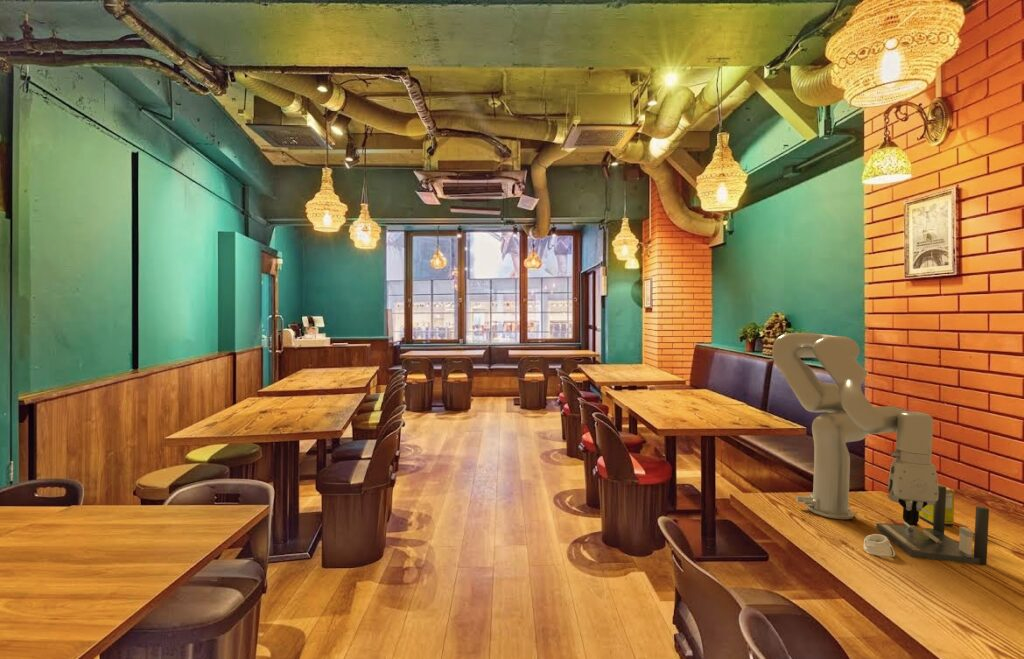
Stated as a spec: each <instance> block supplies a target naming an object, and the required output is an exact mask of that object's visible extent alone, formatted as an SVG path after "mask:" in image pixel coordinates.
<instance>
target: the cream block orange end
mask: <svg viewBox="0 0 1024 659" xmlns="http://www.w3.org/2000/svg"><path fill="white" fill-rule="evenodd" d="M913 526H914V525H913ZM914 527H916V528H917V529H918V530H920V531H921V532H923V533H924V534H925V535H927V536H928V537H930V538H931V539H932V540H934V541H935V542H938V541H939V539H938V538H936V537H935V536H934V535H932V534H931V533H929V532H928V531H927V530H925V529H924V528H925V527H924V526H921V525H920V524H919V523H917V526H914Z"/></svg>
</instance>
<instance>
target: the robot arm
mask: <svg viewBox="0 0 1024 659" xmlns="http://www.w3.org/2000/svg"><path fill="white" fill-rule="evenodd" d="M860 353H861V352H860V347H859V344H858V343H857V341H856V340H854V339H852V338H850V337H848V336H841V335H840V336H839V335H833V334H823V333H815V332H814V333H813V332H788V333H784V334H782V335H780V336H778V337H777V338H776V339H775V340H774V342H773V344H772V350H771V354H772V360H773V362H774V365H775V366H776V367H777V369H778V370H779V372H780V374H782V376H783V377H784V379H785V381H786V382H787V383H788V385H789V387H790V389H791V390H792V392H793V393H794V395H795V397H796V398H797V400H798V402H799V403H800V405H801V407H802V408H804V410H806V411H807V412H810V413H822V414H819V415H818V416H816V417H815V418H814V419H813V421H812V423H811V434H812V440H813V446H814V447H813V448H814V450H813V451H814V452H813V455H814V458H813V462H814V463H813V487H812V488H813V490H812V493H811V492H810V493H809V495H806V496H803V495H796V497H795V500H796V502H797V503H802V504H803V505H806V509H808V511H810V512H811V513H814V514H815V515H818V516H821V517H824V518H825V517H826V518H828V519H835V520H850V519H851V520H852V519H853V518H854V517H855V512H854V511H853V510H852V509H851V508H850V507H849V503H850V502H849V497H850V476H851V475H850V474H851V473H850V472H851V471H850V470H851V457H850V456H851V455H850V452H849V449H848V447H847V443H851V442H852V443H853V442H859V441H863V440H864V439H866V437H867V436H868V435H869V434H870V435H881V434H894V433H895V434H896V441H895V442H896V444H895V446H896V447H895V451H891V452H890V456H891V457H894V458H895V459H893V460H892V462H891V466H890V468H889V474H888V482H887V491H888V493H889V494H888V496H887V497H888V498H887V499H889V501H891V502H895V503H898V504H899V505H900V506H901V507H902V509H903V510H902V520H903V522H904V521H905V522H906V523H907V524H909V525H914V526H917V524H918V523H919V521H920V520H919V519H920V518H919V512H920V511H921V510H922V508H924V507H925V506H926V505H934V504H935V502H936V501H937V500H938V484H939V482H938V481H939V479H938V473H937V468H936V465H935V464H934V463H932V456H933V455H932V453H933V452H932V451H933V430H934V429H933V428H934V420H933V419H934V418H933V416H932V415H930V414H929V413H925V412H920V411H913V410H907V409H906V410H905V409H904V408H901V407H897V406H893V405H891V406H887V405H884V406H873V405H872V403H871V402H870V401H869V400H868V398H867V397H866V396H865V395H864V393H863V391H862V383H863V382H864V380H866V378H867V376H868V374H867V371H866V370H865V369H864V367H863V366H862V365H861V363H860V362H858V360H857V359H858V358H859V356H860ZM802 358H815V359H816V360H817V361H818V362H819V363H820V364H821V366H822V367H823V369H824V370H826V373H828V375H829V376H830V377H831V379H832V381H833V382H834V383H833V382H822V381H821V380H820V379H819V378H818V376H817V375H816V374H815V371H814V370H813V369H812V368H811V366H809V365H808V364H807V363H806V362H805V361H803V360H802Z"/></svg>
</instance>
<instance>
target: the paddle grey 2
mask: <svg viewBox="0 0 1024 659" xmlns="http://www.w3.org/2000/svg"><path fill="white" fill-rule="evenodd" d="M958 532H959V536H958V537H959V541H958V544H959V549H960V550H961V551H963V552H964V553H966V554H968V555H972V553H973V552H972V550H973V539H974V538H973V537H974V532H973V531H972V530H970V529H969V528H967V527H965V526H959V531H958Z"/></svg>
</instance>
